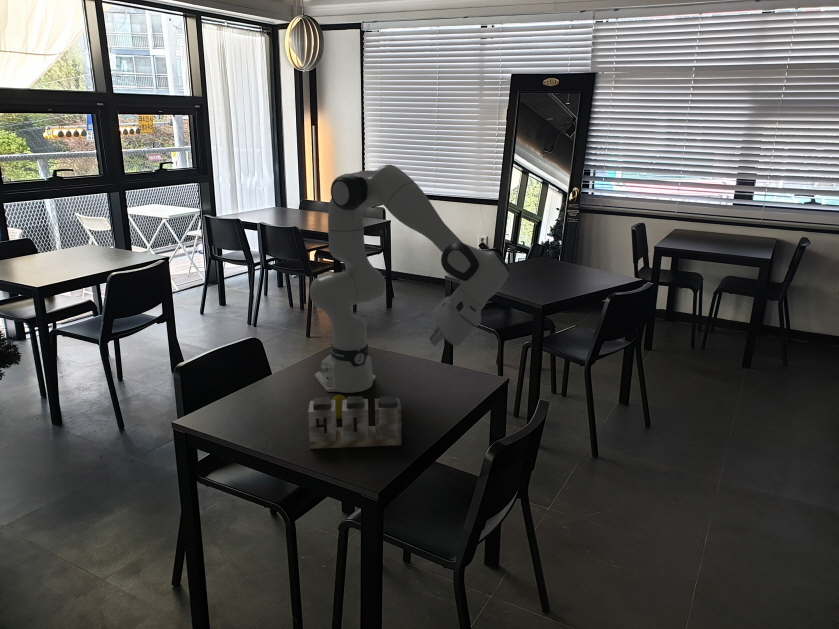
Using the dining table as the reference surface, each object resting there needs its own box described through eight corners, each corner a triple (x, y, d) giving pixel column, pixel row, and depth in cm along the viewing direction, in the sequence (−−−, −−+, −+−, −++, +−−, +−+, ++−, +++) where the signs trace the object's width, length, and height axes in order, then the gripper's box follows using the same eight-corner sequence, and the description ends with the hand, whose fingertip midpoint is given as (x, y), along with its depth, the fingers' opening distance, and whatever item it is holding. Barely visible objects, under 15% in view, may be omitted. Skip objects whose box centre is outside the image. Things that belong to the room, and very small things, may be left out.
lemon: (349, 414, 195) (348, 390, 193) (348, 423, 190) (347, 398, 188) (331, 415, 195) (330, 390, 193) (329, 423, 190) (328, 398, 187)
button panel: (309, 448, 176) (307, 408, 172) (312, 433, 184) (310, 394, 181) (401, 445, 177) (401, 405, 174) (399, 429, 186) (399, 391, 182)
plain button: (380, 424, 178) (379, 403, 176) (379, 417, 182) (379, 396, 180) (396, 424, 178) (396, 402, 176) (395, 417, 182) (395, 396, 180)
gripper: (447, 285, 184) (416, 321, 186) (465, 311, 165) (430, 351, 168) (463, 297, 186) (432, 333, 189) (482, 324, 168) (448, 363, 170)
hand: (431, 342), depth 178 cm, fingers closed
